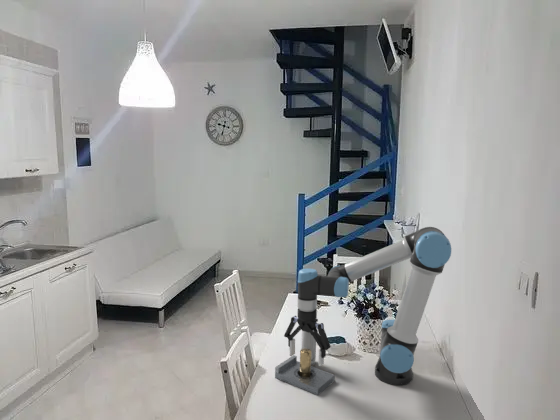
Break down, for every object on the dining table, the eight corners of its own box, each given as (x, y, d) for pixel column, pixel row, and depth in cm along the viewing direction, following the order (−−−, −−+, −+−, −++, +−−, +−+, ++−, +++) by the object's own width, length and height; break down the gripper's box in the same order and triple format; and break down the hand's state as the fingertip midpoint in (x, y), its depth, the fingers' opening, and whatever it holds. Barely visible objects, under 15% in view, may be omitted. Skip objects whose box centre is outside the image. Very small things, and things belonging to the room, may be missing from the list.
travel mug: (315, 367, 181) (316, 322, 178) (299, 365, 182) (301, 320, 180) (316, 360, 187) (318, 316, 185) (302, 358, 189) (303, 315, 186)
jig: (334, 380, 171) (335, 370, 170) (317, 395, 161) (318, 383, 160) (293, 365, 183) (293, 355, 182) (275, 377, 172) (275, 367, 172)
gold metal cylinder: (312, 378, 172) (313, 350, 170) (306, 383, 169) (307, 354, 167) (303, 375, 175) (304, 347, 173) (297, 379, 171) (298, 351, 170)
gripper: (340, 312, 163) (338, 365, 166) (286, 299, 178) (286, 347, 181) (330, 318, 157) (329, 373, 160) (275, 304, 172) (275, 354, 175)
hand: (306, 359), depth 170 cm, fingers open, 13 cm apart
